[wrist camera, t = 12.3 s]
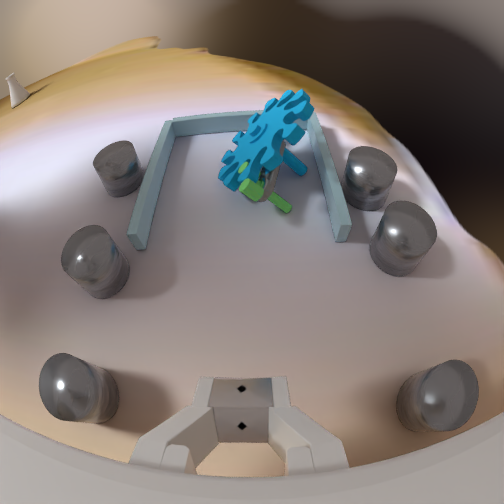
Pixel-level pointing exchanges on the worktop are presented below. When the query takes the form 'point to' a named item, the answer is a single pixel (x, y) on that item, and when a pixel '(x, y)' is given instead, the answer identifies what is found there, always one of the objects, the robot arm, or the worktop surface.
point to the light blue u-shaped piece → (228, 123)
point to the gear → (267, 149)
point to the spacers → (382, 252)
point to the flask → (16, 91)
